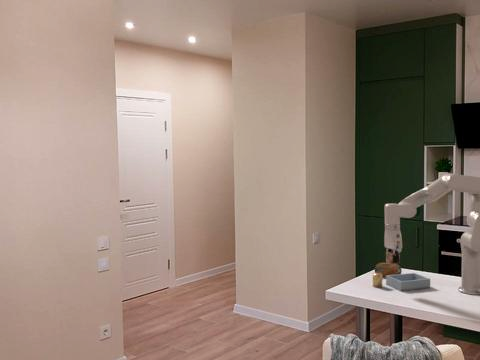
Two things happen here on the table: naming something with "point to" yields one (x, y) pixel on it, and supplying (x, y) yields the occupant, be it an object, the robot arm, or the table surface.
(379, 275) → the brass cylinder
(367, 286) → the table surface
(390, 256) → the walnut cube
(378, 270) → the tin
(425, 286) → the tote
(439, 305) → the table surface
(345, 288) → the table surface
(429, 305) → the table surface
